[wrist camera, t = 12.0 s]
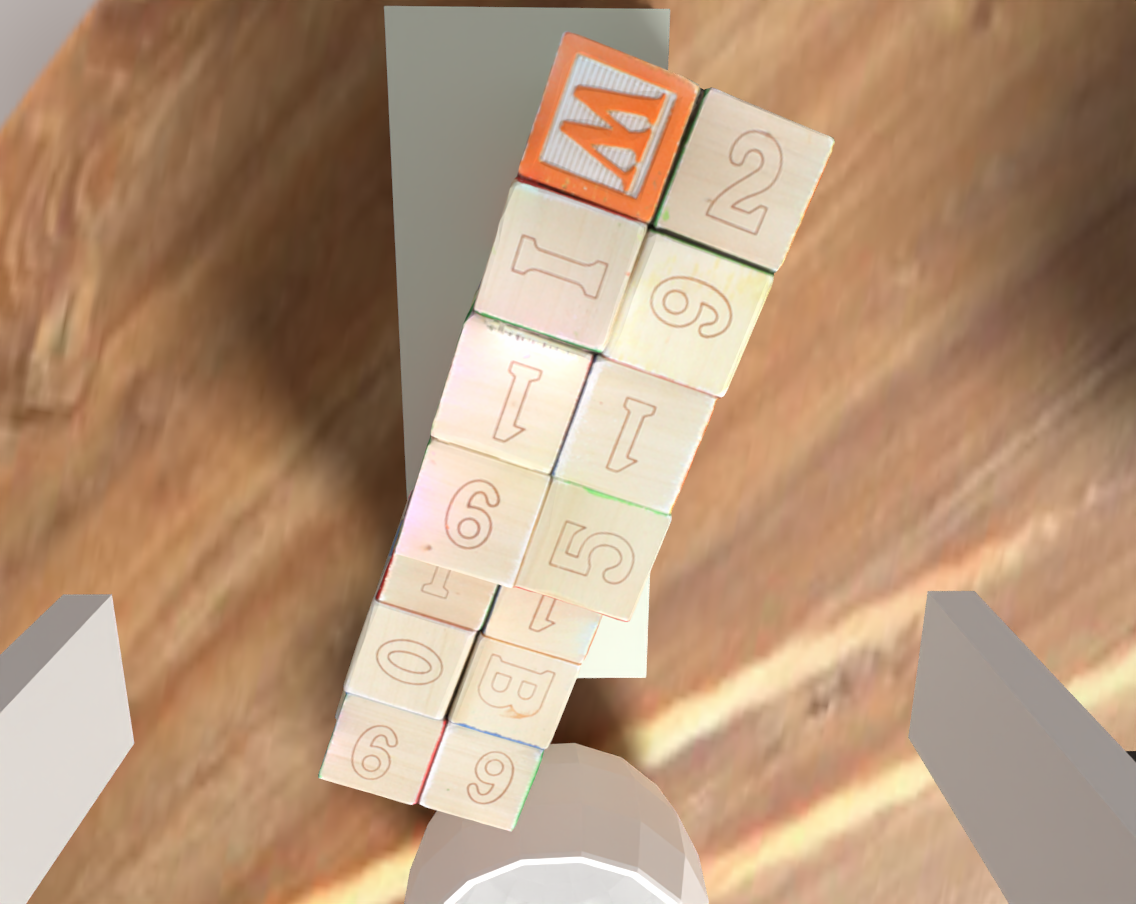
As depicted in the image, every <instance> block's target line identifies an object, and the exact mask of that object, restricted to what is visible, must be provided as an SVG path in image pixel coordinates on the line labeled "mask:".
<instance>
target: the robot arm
mask: <svg viewBox="0 0 1136 904" xmlns="http://www.w3.org/2000/svg"><path fill="white" fill-rule="evenodd" d="M908 738H909V739H910V741H911V743H912V744H913V746H914V747H915V749H916V751H917V752H918V754H919V756H920V757H921V759H922V761H923V762H924V764H925V766H926V767H927V769H928V771H929V772H930V774H931V776H932V777H933V779H934V781H935V782H936V784H937V786H938V787H939V789H940V790H941V792H942V794H943V795H944V797H945V799H946V800H947V802H948V804H949V805H950V807H951V809H952V810H953V812H954V814H955V815H956V817H957V819H958V820H959V822H960V824H961V825H962V827H963V828H964V830H965V832H966V833H967V835H968V837H969V838H970V840H971V842H972V843H973V845H974V847H975V848H976V850H977V852H978V853H979V855H980V857H981V858H982V860H983V862H984V863H985V865H986V867H987V868H988V870H989V871H990V873H991V875H992V876H993V878H994V880H995V881H996V883H997V885H998V886H999V888H1000V890H1001V891H1002V893H1003V895H1004V896H1005V898H1006V900H1007V901H1008V903H1009V904H1136V751H1125V750H1124V749H1123V748H1122V747H1121V746H1120V745H1119V744H1118V743H1117V742H1116V741H1115V740H1114V739H1113V738H1112V737H1111V735H1110V734H1109V733H1108V732H1107V731H1106V730H1105V729H1104V728H1103V727H1102V726H1101V725H1100V724H1099V723H1098V722H1097V721H1096V720H1095V718H1094V717H1093V716H1092V715H1091V714H1090V713H1089V712H1088V711H1087V710H1086V709H1085V708H1084V707H1083V706H1082V705H1081V704H1080V703H1079V702H1078V700H1077V699H1076V698H1075V697H1074V696H1073V695H1072V694H1071V693H1070V692H1069V691H1068V690H1067V689H1066V688H1065V687H1064V686H1063V685H1062V684H1061V682H1060V681H1059V680H1058V679H1057V678H1056V677H1055V676H1054V675H1053V674H1052V673H1051V672H1050V671H1049V670H1048V669H1047V668H1046V667H1045V666H1044V664H1043V663H1042V662H1041V661H1040V660H1039V659H1038V658H1037V657H1036V656H1035V655H1034V654H1033V653H1032V652H1031V651H1030V650H1029V649H1028V647H1027V646H1026V645H1025V644H1024V643H1023V642H1022V641H1021V640H1020V639H1019V638H1018V637H1017V636H1016V635H1015V634H1014V633H1013V632H1012V631H1011V629H1010V628H1009V627H1008V626H1007V625H1006V624H1005V623H1004V622H1003V621H1002V620H1001V619H1000V618H999V617H998V616H997V615H996V614H995V613H994V611H993V610H992V609H991V608H990V607H989V606H988V605H987V604H986V603H985V602H984V601H983V600H982V599H981V598H980V597H979V596H978V595H977V593H976V592H975V591H928V593H927V601H926V608H925V616H924V624H923V631H922V639H921V646H920V654H919V661H918V669H917V677H916V684H915V692H914V699H913V707H912V714H911V722H910V730H909V737H908ZM133 744H134V739H133V732H132V726H131V719H130V712H129V706H128V699H127V692H126V686H125V679H124V672H123V666H122V659H121V652H120V646H119V639H118V632H117V626H116V619H115V612H114V606H113V599H112V594H111V595H62V596H61V597H60V598H59V599H58V600H57V601H56V602H55V603H54V604H53V605H52V606H51V607H50V608H49V609H48V610H47V611H46V612H45V613H43V614H42V615H41V616H40V617H39V618H38V619H37V620H36V621H35V622H34V623H33V624H32V625H31V626H30V627H29V628H28V629H27V630H26V631H25V632H24V633H23V634H22V635H20V636H19V637H18V638H17V639H16V640H15V641H14V642H13V643H12V644H11V645H10V646H9V647H8V648H7V649H6V650H5V651H4V652H3V653H2V654H1V655H0V904H26V903H27V901H28V900H29V899H30V897H31V896H32V894H33V893H34V891H35V890H36V888H37V887H38V885H39V884H40V882H41V881H42V879H43V878H44V876H45V875H46V873H47V872H48V870H49V869H50V867H51V866H52V864H53V863H54V861H55V860H56V858H57V857H58V855H59V854H60V853H61V851H62V850H63V848H64V847H65V845H66V844H67V842H68V841H69V839H70V838H71V836H72V835H73V833H74V832H75V830H76V829H77V827H78V826H79V824H80V823H81V821H82V820H83V818H84V817H85V815H86V814H87V812H88V811H89V809H90V808H91V807H92V805H93V804H94V802H95V801H96V799H97V798H98V796H99V795H100V793H101V792H102V790H103V789H104V787H105V786H106V784H107V783H108V781H109V780H110V778H111V777H112V775H113V774H114V772H115V771H116V769H117V768H118V766H119V765H120V764H121V762H122V761H123V759H124V758H125V756H126V755H127V753H128V752H129V750H130V749H131V747H132V746H133Z"/></svg>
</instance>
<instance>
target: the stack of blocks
mask: <svg viewBox="0 0 1136 904" xmlns="http://www.w3.org/2000/svg"><path fill="white" fill-rule="evenodd" d="M834 142H835V140H834V138H833V137H830V136H828V135H825V134H823V133H820V132H818V131H815V130H813V129H810V128H808V127H805V126H803V125H801V124H798V123H796V122H793V121H791V120H789V119H786V118H784V117H782V116H779V115H777V114H774V113H772V112H770V111H767V110H765V109H762V108H760V107H758V106H755V105H753V104H751V103H748V102H746V101H743V100H741V99H739V98H736V97H734V96H732V95H729V94H727V93H725V92H722V91H720V90H717V89H715V88H712V87H711V88H708V89H705V90H703V89H701V88H700V86H699V84H697V83H695V82H693V81H692V80H690V79H687V78H685V77H683V76H681V75H678V74H676V73H673V72H671V71H669V70H666V69H664V68H661V67H659V66H656V65H654V64H651V63H649V62H646V61H644V60H642V59H639V58H637V57H634V56H632V55H629V54H627V53H624V52H622V51H619V50H617V49H614V48H612V47H609V46H607V45H604V44H602V43H599V42H597V41H594V40H592V39H589V38H587V37H584V36H582V35H579V34H576V33H572V32H569V31H565V32H563V34H562V36H561V39H560V42H559V45H558V48H557V51H556V54H555V57H554V60H553V63H552V66H551V69H550V73H549V76H548V79H547V82H546V85H545V88H544V91H543V94H542V97H541V101H540V104H539V107H538V110H537V113H536V116H535V119H534V122H533V125H532V128H531V131H530V134H529V137H528V140H527V143H526V146H525V149H524V152H523V155H522V158H521V161H520V164H519V169H518V174H517V177H516V178H514V180H513V181H512V182H511V186H510V189H509V192H508V195H507V199H506V202H505V205H504V208H503V212H502V215H501V218H500V222H499V225H498V228H497V231H496V235H495V238H494V241H493V244H492V248H491V251H490V254H489V258H488V261H487V264H486V267H485V271H484V274H483V277H482V279H481V281H480V283H479V285H478V287H477V289H476V292H475V295H474V298H473V301H472V304H471V307H470V310H469V312H468V314H467V316H466V318H465V321H464V323H463V326H462V329H461V333H460V336H459V339H458V341H457V345H456V348H455V352H454V356H453V359H452V362H451V365H450V368H449V372H448V375H447V378H446V381H445V384H444V387H443V391H442V394H441V397H440V400H439V404H438V407H437V410H436V414H435V417H434V420H433V423H432V428H431V434H430V439H429V442H428V444H427V447H426V450H425V453H424V456H423V460H422V463H421V466H420V469H419V473H418V476H417V479H416V482H415V486H414V489H412V490H411V491H410V494H409V497H408V500H407V503H406V506H405V509H404V511H403V514H402V517H401V520H400V523H399V526H398V529H397V532H396V534H395V537H394V540H393V543H392V546H391V549H390V551H389V554H388V557H387V560H386V563H385V566H384V568H383V571H382V574H381V577H380V580H379V583H378V586H377V590H376V592H375V595H374V597H373V600H372V602H371V605H370V608H369V611H368V614H367V617H366V619H365V622H364V625H363V628H362V631H361V634H360V637H359V640H358V643H357V646H356V649H355V652H354V655H353V658H352V661H351V664H350V667H349V670H348V673H347V676H346V679H345V682H344V686H343V687H344V690H343V692H342V695H341V698H340V701H339V704H338V707H337V710H336V715H335V718H336V719H337V721H336V724H335V727H334V730H333V733H332V736H331V739H330V742H329V745H328V748H327V750H326V753H325V756H324V759H323V762H322V765H321V768H320V771H319V774H318V778H320V779H323V780H327V781H330V782H333V783H337V784H340V785H344V786H347V787H351V788H354V789H358V790H362V791H365V792H369V793H372V794H375V795H379V796H382V797H385V798H389V799H392V800H395V801H399V802H402V803H405V804H409V805H413V804H416V803H418V804H420V805H422V806H424V807H427V808H430V809H434V810H437V811H440V812H444V813H447V814H451V815H454V816H458V817H461V818H465V819H469V820H473V821H476V822H479V823H482V824H486V825H490V826H493V827H496V828H500V829H504V830H508V831H512V830H513V829H514V828H515V826H516V824H517V821H518V819H519V816H520V814H521V811H522V809H523V806H524V804H525V801H526V799H527V796H528V793H529V791H530V788H531V786H532V784H533V781H534V779H535V777H536V774H537V772H538V769H539V766H540V763H541V760H542V757H543V753H544V750H545V749H547V748H548V747H549V745H550V743H551V741H552V738H553V736H554V733H555V731H556V728H557V726H558V724H559V721H560V719H561V716H562V714H563V711H564V709H565V706H566V704H567V701H568V699H569V696H570V694H571V691H572V689H573V686H574V684H575V681H576V679H577V677H578V674H579V672H580V669H581V664H582V662H583V661H584V660H585V658H586V656H587V654H588V652H589V648H590V646H591V644H592V642H593V639H594V637H595V634H596V632H597V629H598V627H599V624H600V621H601V619H602V616H603V615H605V616H608V617H610V618H613V619H616V620H620V621H624V622H628V621H630V620H631V618H632V615H633V613H634V611H635V608H636V606H637V603H638V601H639V598H640V596H641V593H642V591H643V588H644V586H645V583H646V581H647V578H648V576H649V573H650V571H651V569H652V566H653V564H654V561H655V559H656V556H657V554H658V552H659V549H660V547H661V544H662V542H663V540H664V537H665V535H666V532H667V530H668V527H669V525H670V523H671V511H672V509H673V506H674V504H675V502H676V500H677V498H678V495H679V493H680V491H681V489H682V486H683V484H684V482H685V479H686V477H687V474H688V472H689V469H690V467H691V465H692V462H693V460H694V457H695V454H696V452H697V449H698V447H699V445H700V443H701V440H702V438H703V436H704V433H705V431H706V428H707V426H708V424H709V421H710V419H711V416H712V414H713V411H714V408H715V404H716V402H717V400H718V399H720V398H721V397H723V396H724V395H725V393H726V392H727V390H728V387H729V385H730V383H731V380H732V378H733V376H734V373H735V371H736V369H737V366H738V364H739V362H740V359H741V357H742V355H743V352H744V350H745V347H746V345H747V343H748V340H749V338H750V335H751V333H752V331H753V328H754V326H755V324H756V321H757V319H758V317H759V314H760V312H761V310H762V307H763V305H764V303H765V300H766V298H767V296H768V293H769V291H770V289H771V286H772V283H773V279H774V273H775V272H776V271H778V270H779V268H780V267H781V266H782V265H783V263H784V261H785V259H786V256H787V254H788V251H789V249H790V247H791V244H792V242H793V240H794V238H795V235H796V233H797V231H798V229H799V226H800V224H801V222H802V220H803V217H804V215H805V213H806V211H807V208H808V206H809V204H810V202H811V199H812V197H813V195H814V192H815V190H816V188H817V186H818V183H819V181H820V179H821V176H822V174H823V172H824V169H825V167H826V165H827V163H828V160H829V158H830V156H831V153H832V150H833V146H834Z"/></svg>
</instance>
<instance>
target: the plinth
mask: <svg viewBox="0 0 1136 904" xmlns="http://www.w3.org/2000/svg"><path fill="white" fill-rule="evenodd" d="M384 15H385V37H386V58H387V80H388V101H389V123H390V144H391V166H392V187H393V209H394V230H395V252H396V274H397V295H398V317H399V338H400V360H401V381H402V403H403V424H404V446H405V467H406V489H407V500H408V497H409V494H410V491H411V490H412V489H414V486H415V482H416V479H417V476H418V473H419V469H420V466H421V463H422V460H423V456H424V453H425V450H426V447H427V444H428V442H429V439H430V434H431V428H432V423H433V420H434V417H435V414H436V410H437V407H438V404H439V400H440V397H441V394H442V391H443V387H444V384H445V381H446V378H447V375H448V372H449V368H450V365H451V362H452V359H453V356H454V352H455V348H456V345H457V341H458V339H459V336H460V333H461V329H462V326H463V323H464V321H465V318H466V316H467V314H468V312H469V310H470V307H471V304H472V301H473V298H474V295H475V292H476V289H477V287H478V285H479V283H480V281H481V279H482V277H483V274H484V271H485V267H486V264H487V261H488V258H489V254H490V251H491V248H492V244H493V241H494V238H495V235H496V231H497V228H498V225H499V222H500V218H501V215H502V212H503V208H504V205H505V202H506V199H507V195H508V192H509V189H510V186H511V182H512V181H513V180H514V178H516V177H517V174H518V169H519V164H520V161H521V158H522V155H523V152H524V149H525V146H526V143H527V140H528V137H529V134H530V131H531V128H532V125H533V122H534V119H535V116H536V113H537V110H538V107H539V104H540V101H541V97H542V94H543V91H544V88H545V85H546V82H547V79H548V76H549V73H550V69H551V66H552V63H553V60H554V57H555V54H556V51H557V48H558V45H559V42H560V39H561V36H562V34H563V32H565V31H569V32H572V33H576V34H579V35H582V36H584V37H587V38H589V39H592V40H594V41H597V42H599V43H602V44H604V45H607V46H609V47H612V48H614V49H617V50H619V51H622V52H624V53H627V54H629V55H632V56H634V57H637V58H639V59H642V60H644V61H646V62H649V63H651V64H654V65H656V66H659V67H661V68H664V69H666V70H668V55H669V27H670V9H625V8H534V7H443V6H384ZM649 584H650V573H649V576H648V578H647V581H646V583H645V586H644V588H643V591H642V593H641V596H640V598H639V601H638V603H637V606H636V608H635V611H634V613H633V615H632V618H631V620H630V621H628V622H624V621H620V620H616V619H613V618H610V617H608V616H605V615H603V616H602V619H601V621H600V624H599V627H598V629H597V632H596V634H595V637H594V639H593V642H592V644H591V646H590V648H589V652H588V654H587V656H586V658H585V660H584V661H583V662H582V664H581V669H580V672H579V674H578V677H577V678H646V667H647V639H648V612H649Z"/></svg>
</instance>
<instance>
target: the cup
mask: <svg viewBox="0 0 1136 904" xmlns="http://www.w3.org/2000/svg"><path fill="white" fill-rule="evenodd" d="M404 904H709V900H708V896H707V891H706V887H705V882H704V878H703V873H702V869H701V864H700V860H699V855H698V853H697V851H696V849H695V847H694V845H693V844H692V842H691V840H690V838H689V836H688V834H687V832H686V830H685V828H684V826H683V824H682V822H681V820H680V818H679V816H678V814H677V812H676V811H675V809H674V808H673V807H672V805H671V804H670V802H669V801H668V800H667V798H666V797H665V796H664V794H663V793H662V791H661V790H660V789H659V787H658V786H657V785H656V784H655V783H654V782H652V781H651V780H650V779H648V778H647V777H646V776H645V775H643V774H642V773H641V772H640V771H638V770H637V769H636V768H635V767H633V766H632V765H631V764H629V763H628V762H627V761H626V760H624V759H623V758H622V757H619V756H616V755H612V754H609V753H606V752H603V751H599V750H596V749H593V748H589V747H586V746H583V745H579V744H576V743H564V744H550V745H549V747H548V748H547V749H545V750H544V753H543V757H542V760H541V763H540V766H539V769H538V772H537V774H536V777H535V779H534V781H533V784H532V786H531V788H530V791H529V793H528V796H527V799H526V801H525V804H524V806H523V809H522V811H521V814H520V816H519V819H518V821H517V824H516V826H515V828H514V829H513V830H512V831H508V830H504V829H500V828H496V827H493V826H490V825H486V824H482V823H479V822H476V821H473V820H469V819H465V818H461V817H458V816H454V815H451V814H447V813H444V812H440V811H436V813H435V814H434V816H433V817H432V819H431V820H430V822H429V823H428V825H427V828H426V830H425V833H424V836H423V838H422V841H421V843H420V846H419V848H418V851H417V854H416V856H415V859H414V861H413V864H412V866H411V869H410V874H409V879H408V885H407V890H406V896H405V901H404Z"/></svg>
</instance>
